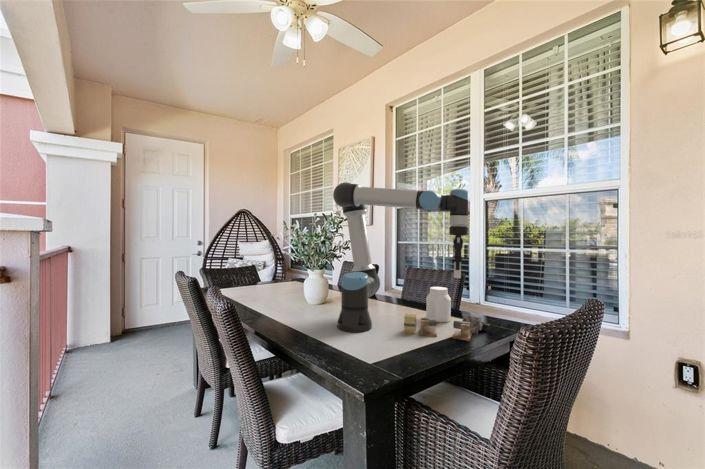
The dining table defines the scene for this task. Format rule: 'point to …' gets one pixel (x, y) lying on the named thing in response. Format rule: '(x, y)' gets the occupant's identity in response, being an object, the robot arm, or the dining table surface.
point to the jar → (438, 304)
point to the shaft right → (462, 330)
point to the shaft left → (425, 327)
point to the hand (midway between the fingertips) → (457, 275)
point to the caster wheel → (475, 324)
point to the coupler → (410, 323)
